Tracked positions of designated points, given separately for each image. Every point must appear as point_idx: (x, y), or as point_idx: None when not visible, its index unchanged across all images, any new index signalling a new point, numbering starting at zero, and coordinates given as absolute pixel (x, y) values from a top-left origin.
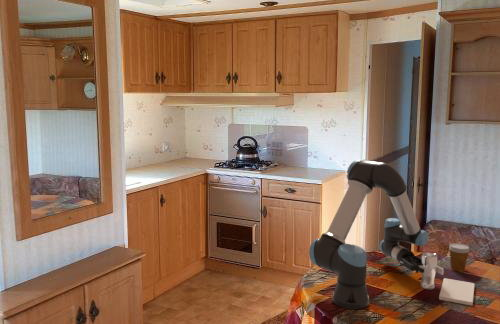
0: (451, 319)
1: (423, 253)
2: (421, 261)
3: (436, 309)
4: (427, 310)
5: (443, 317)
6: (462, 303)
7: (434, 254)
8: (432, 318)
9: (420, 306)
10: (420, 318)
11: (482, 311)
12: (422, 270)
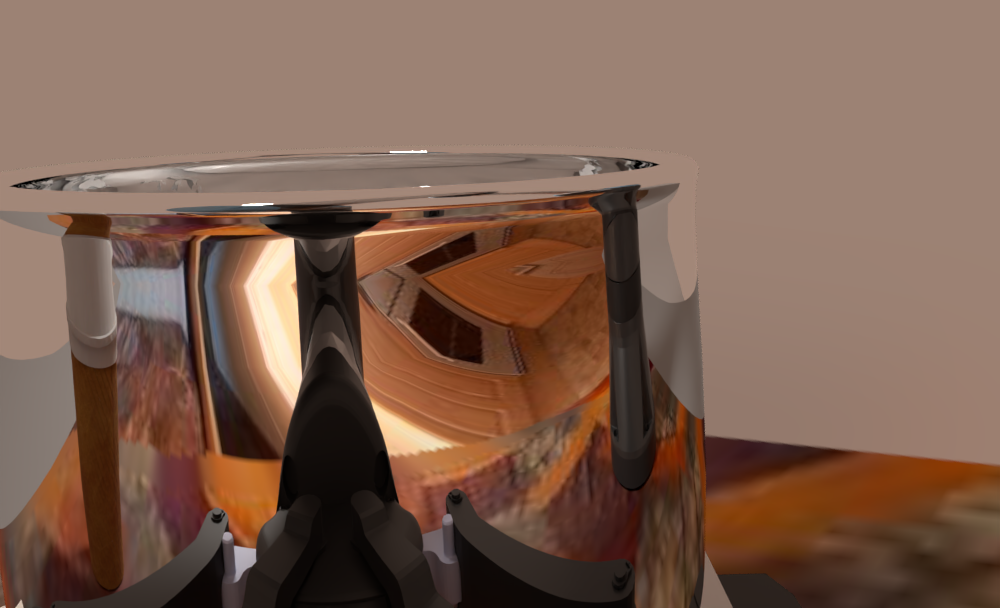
0: (712, 436)
1: (456, 192)
2: (703, 491)
3: (765, 529)
4: (878, 532)
5: (765, 455)
6: None
7: (48, 181)
8: (874, 459)
9: (944, 593)
10: (994, 472)
11: None
12: (753, 589)
